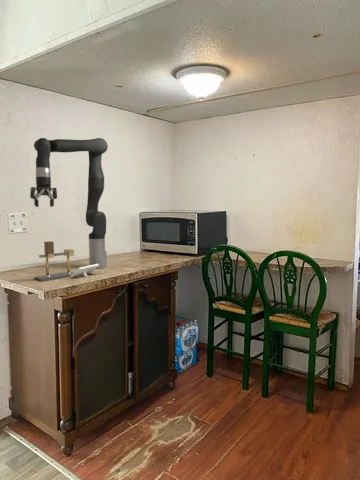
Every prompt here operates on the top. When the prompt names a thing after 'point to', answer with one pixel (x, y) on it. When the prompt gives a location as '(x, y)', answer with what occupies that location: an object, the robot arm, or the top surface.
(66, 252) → the dividers frame
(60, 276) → the bolt plate
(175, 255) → the top surface
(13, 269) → the top surface
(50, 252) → the block
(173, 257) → the top surface
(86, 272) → the light switch
